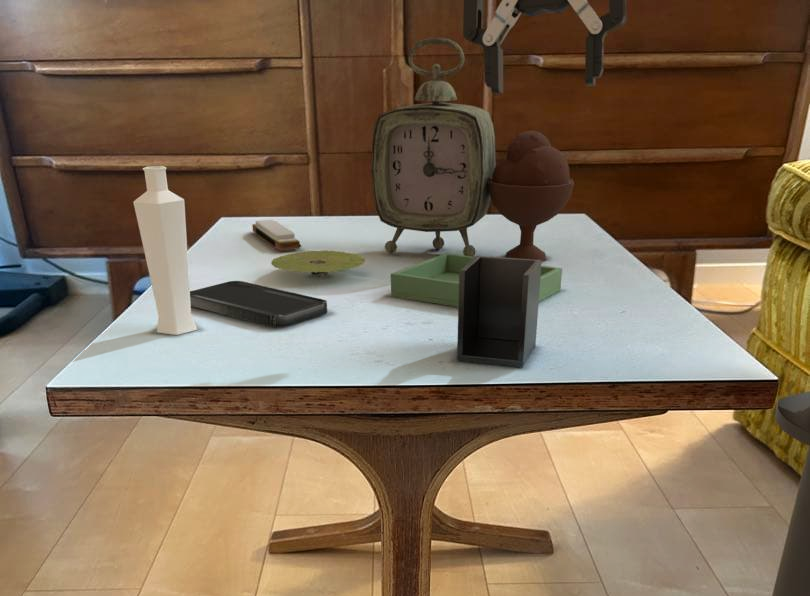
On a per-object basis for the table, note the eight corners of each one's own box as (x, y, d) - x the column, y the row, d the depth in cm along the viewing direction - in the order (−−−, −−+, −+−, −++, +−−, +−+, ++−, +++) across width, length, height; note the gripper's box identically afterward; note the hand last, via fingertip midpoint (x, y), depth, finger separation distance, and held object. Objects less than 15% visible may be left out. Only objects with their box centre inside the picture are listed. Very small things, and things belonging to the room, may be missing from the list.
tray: (560, 290, 100) (562, 268, 99) (512, 316, 91) (514, 291, 90) (445, 273, 107) (445, 252, 106) (390, 296, 98) (390, 273, 97)
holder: (535, 347, 82) (541, 259, 78) (522, 367, 77) (528, 275, 73) (473, 341, 84) (476, 255, 80) (456, 361, 79) (459, 270, 75)
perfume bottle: (146, 327, 88) (121, 166, 81) (189, 320, 90) (168, 163, 83) (160, 338, 85) (135, 172, 78) (203, 331, 87) (183, 168, 79)
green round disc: (373, 267, 110) (372, 251, 109) (355, 289, 101) (355, 272, 100) (286, 264, 112) (285, 249, 111) (260, 286, 102) (259, 269, 101)
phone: (277, 317, 87) (181, 293, 95) (278, 329, 87) (182, 303, 95) (332, 301, 92) (236, 279, 100) (332, 311, 92) (237, 289, 101)
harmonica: (301, 250, 119) (300, 235, 118) (279, 252, 118) (278, 236, 117) (272, 231, 131) (271, 217, 130) (252, 232, 130) (251, 218, 129)
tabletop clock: (373, 256, 116) (368, 38, 103) (393, 242, 123) (391, 37, 111) (480, 262, 112) (488, 37, 100) (494, 248, 120) (503, 37, 107)
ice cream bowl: (467, 259, 114) (471, 132, 106) (516, 245, 121) (523, 126, 114) (535, 272, 108) (545, 138, 100) (583, 256, 115) (595, 130, 108)
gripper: (451, -123, 73) (457, 93, 79) (626, -153, 69) (619, 77, 75) (472, -98, 80) (477, 100, 86) (633, -124, 76) (626, 86, 82)
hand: (543, 89), depth 80 cm, fingers open, 8 cm apart
